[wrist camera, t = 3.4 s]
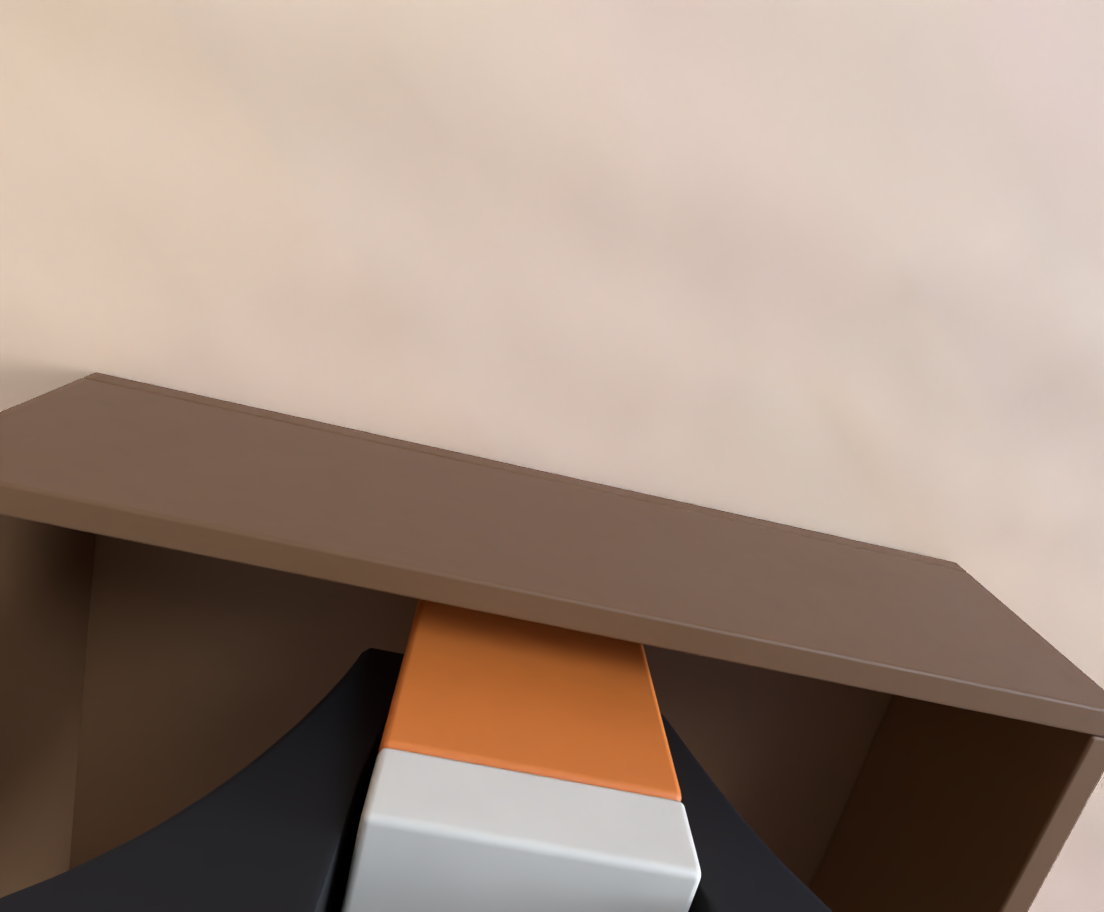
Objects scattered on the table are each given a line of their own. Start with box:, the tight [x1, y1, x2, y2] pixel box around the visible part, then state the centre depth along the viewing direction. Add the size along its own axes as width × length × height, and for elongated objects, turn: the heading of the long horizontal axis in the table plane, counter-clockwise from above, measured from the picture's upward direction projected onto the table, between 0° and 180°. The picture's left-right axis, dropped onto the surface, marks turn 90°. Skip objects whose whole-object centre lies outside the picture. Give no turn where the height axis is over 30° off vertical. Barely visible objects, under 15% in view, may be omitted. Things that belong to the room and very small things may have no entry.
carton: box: [0, 373, 1104, 912], centre depth 13 cm, size 15×11×4 cm
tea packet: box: [341, 599, 701, 912], centre depth 11 cm, size 3×4×6 cm
